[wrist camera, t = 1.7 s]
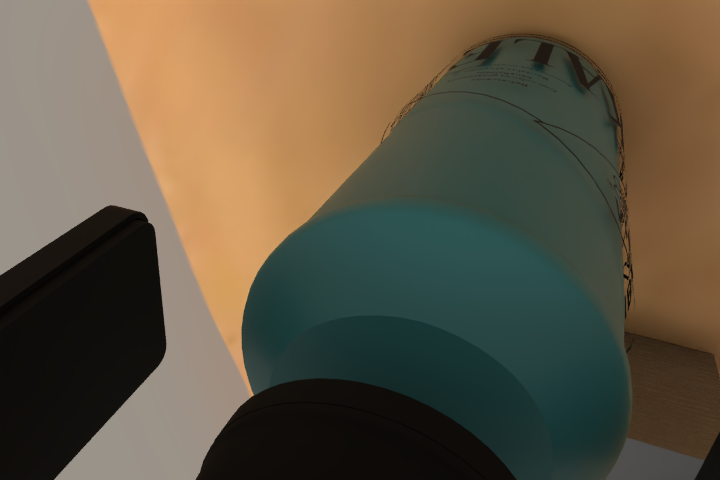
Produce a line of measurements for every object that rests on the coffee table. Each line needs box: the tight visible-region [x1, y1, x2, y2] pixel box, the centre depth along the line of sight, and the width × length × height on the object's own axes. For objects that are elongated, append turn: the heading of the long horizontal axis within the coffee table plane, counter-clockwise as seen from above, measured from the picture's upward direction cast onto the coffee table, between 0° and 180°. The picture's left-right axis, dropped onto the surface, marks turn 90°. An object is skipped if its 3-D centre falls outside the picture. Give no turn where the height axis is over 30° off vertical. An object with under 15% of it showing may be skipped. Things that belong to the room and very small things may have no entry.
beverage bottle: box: [196, 34, 635, 480], centre depth 14 cm, size 6×7×20 cm
